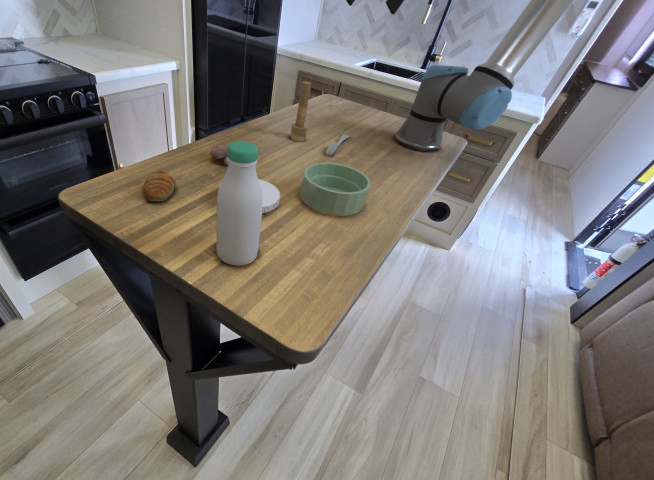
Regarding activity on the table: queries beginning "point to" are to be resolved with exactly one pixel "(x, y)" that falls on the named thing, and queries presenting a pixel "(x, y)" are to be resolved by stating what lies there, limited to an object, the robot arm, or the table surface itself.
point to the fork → (336, 143)
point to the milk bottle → (239, 206)
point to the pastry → (159, 185)
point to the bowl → (334, 188)
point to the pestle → (301, 114)
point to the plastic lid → (269, 196)
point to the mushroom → (220, 152)
